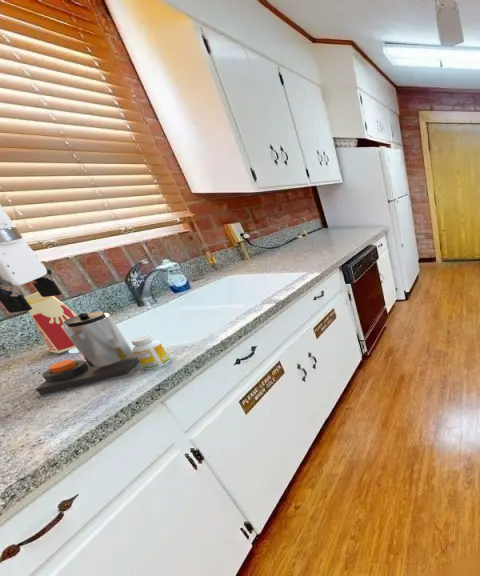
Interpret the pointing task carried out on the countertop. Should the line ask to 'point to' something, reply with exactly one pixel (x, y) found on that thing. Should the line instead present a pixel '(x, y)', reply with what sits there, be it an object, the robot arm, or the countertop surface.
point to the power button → (62, 366)
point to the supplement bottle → (149, 352)
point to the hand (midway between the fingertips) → (37, 303)
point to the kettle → (97, 338)
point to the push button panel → (85, 374)
